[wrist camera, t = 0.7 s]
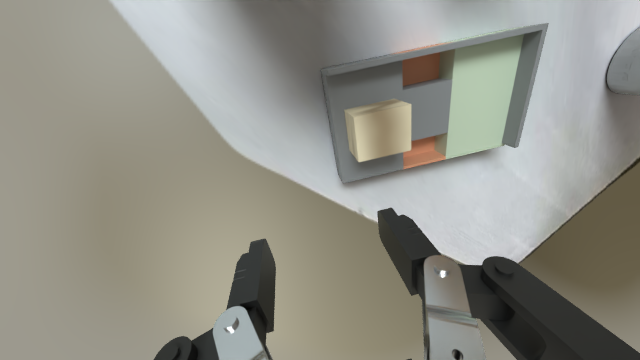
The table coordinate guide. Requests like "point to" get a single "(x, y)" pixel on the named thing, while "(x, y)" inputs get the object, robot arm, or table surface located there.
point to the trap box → (440, 97)
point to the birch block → (379, 129)
